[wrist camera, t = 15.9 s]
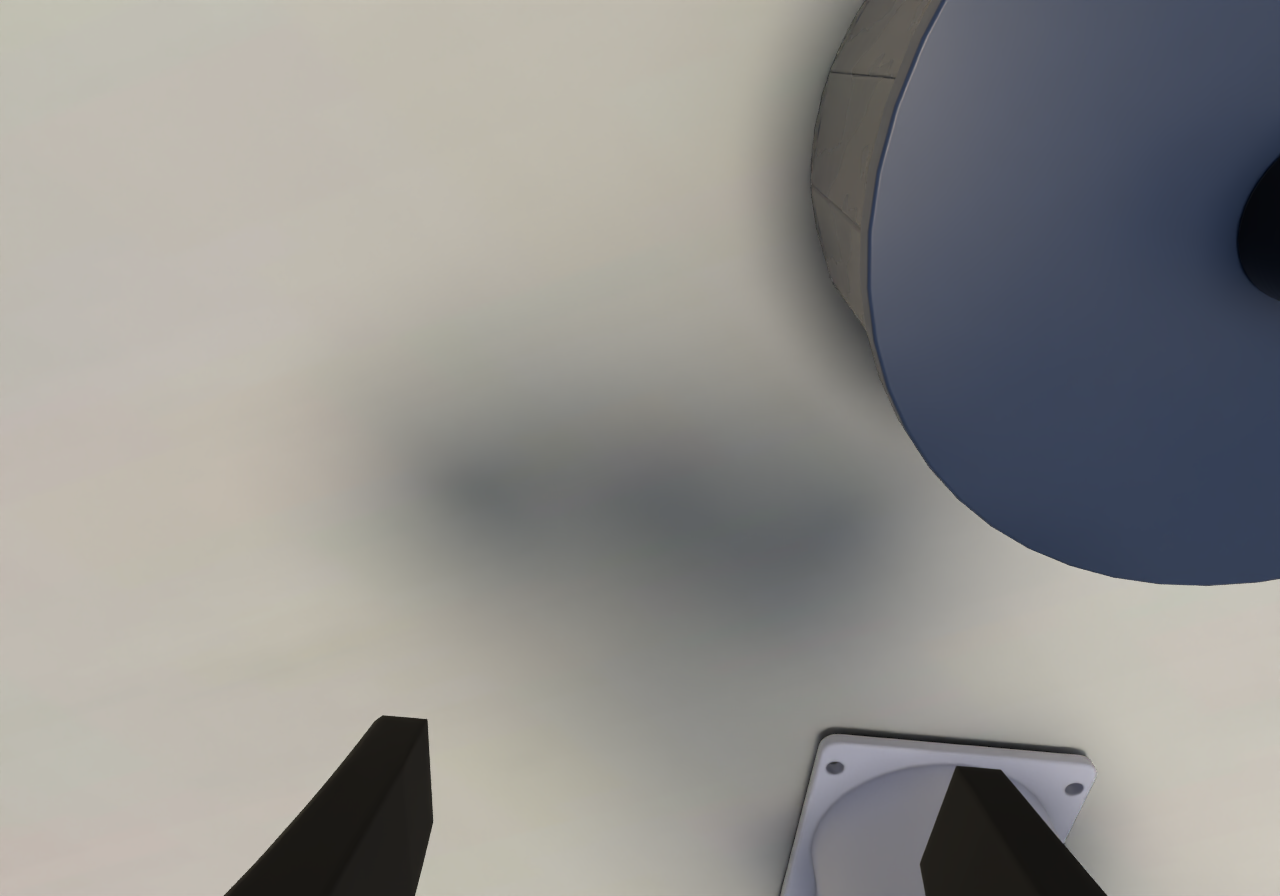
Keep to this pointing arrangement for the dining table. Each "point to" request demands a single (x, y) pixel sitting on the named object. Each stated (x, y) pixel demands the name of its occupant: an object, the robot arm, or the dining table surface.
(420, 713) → the dining table surface
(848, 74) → the pot
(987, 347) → the pot lid
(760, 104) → the dining table surface
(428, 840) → the robot arm
